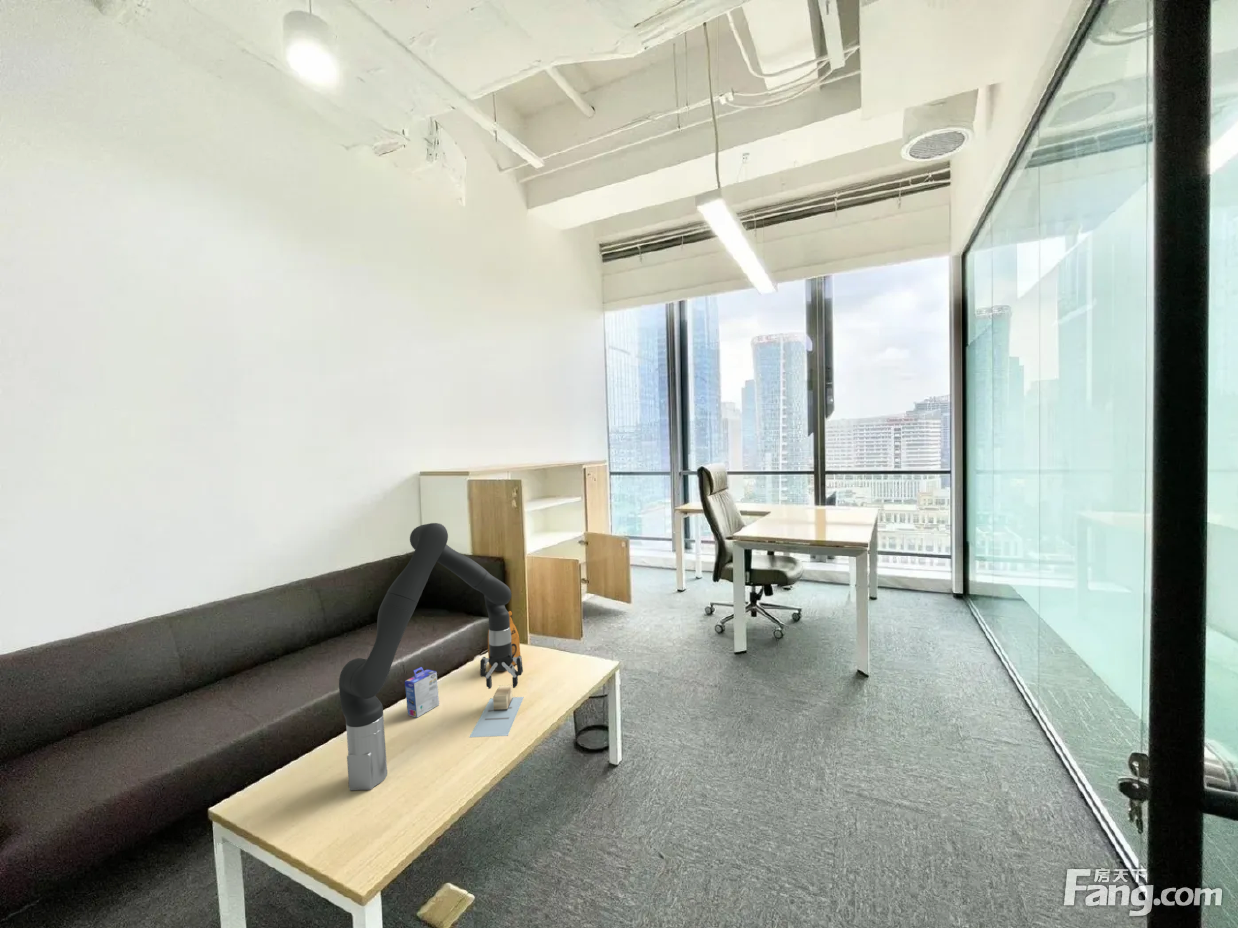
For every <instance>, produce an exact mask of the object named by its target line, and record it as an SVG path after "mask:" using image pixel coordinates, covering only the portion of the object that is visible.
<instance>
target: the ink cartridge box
mask: <svg viewBox="0 0 1238 928" xmlns="http://www.w3.org/2000/svg"><path fill="white" fill-rule="evenodd" d="M418 671H419V672H418ZM437 674H438V673H437V671H436V670H432V669H425V670H424V668H423V667H422V666H420V667H418V668H416V669H413V676H412V677H409V678H408V679H406V680H405V681H404V687H405V697H406V708H407V716H410V717H413V718H415V719H417V718H419V717H421V716H422V715H424V714H426V713H427V712H429V711H430V710H433V709H434V708H436V707H438V706H439V705H440V700H439V698H440V697H439V685H438V675H437Z"/></svg>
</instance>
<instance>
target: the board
mask: <svg viewBox="0 0 1238 928" xmlns="http://www.w3.org/2000/svg"><path fill="white" fill-rule="evenodd" d="M512 697H513V699H512V701H511V703H510V706H509V708H508V710H507V711H494V703H493V697H492V698H490V699H489V700H488V702H487V704H486V706H485V708H484V709H483V711H482V713H481V715H480V717H479V719H478V720H477V722H476V724H475V726H474V728H473V729H472V732H471V734H470V735H469V738H485V737H508V736H509V733H510V732H511V728H512V727H513V724H514V722H515V719H516V717H517V715H518V712H519V711H520V707H521V705H522V703H523V700H524V696H517V697H516V696H512Z"/></svg>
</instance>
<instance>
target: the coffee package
mask: <svg viewBox="0 0 1238 928" xmlns="http://www.w3.org/2000/svg"><path fill="white" fill-rule="evenodd" d="M508 612H509V619H510V631H511V645H512V656H513V657H518V656H521V657H522V655H521V646H520V645H521V644H520V636H519V635H520V634H519V631H518V630H517V626H516V625H515V624H514V621H513V619H512V617H511V616H512V615H513V612H512V611H511V610H509V611H508ZM487 654H488V655H487V656H488V658H490V654H489V630H487ZM488 665H489V667H488V668H489V670H490V669H491V667H492V666H491V665H490V663H489V662H488ZM512 665H513V666H514V667H515V665H517V664H516V663H515V662H514V661H513V662H512Z"/></svg>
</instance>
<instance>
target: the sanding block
mask: <svg viewBox="0 0 1238 928" xmlns="http://www.w3.org/2000/svg"><path fill="white" fill-rule="evenodd" d="M513 697H514V696H513V684H504V685H503V684H502V685H498V687H497V689H496V691H495V692H494V694H493V695H492V698H493V703H494V711H507V710H508V708H509V706H510V703H511V701H512V699H513Z"/></svg>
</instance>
